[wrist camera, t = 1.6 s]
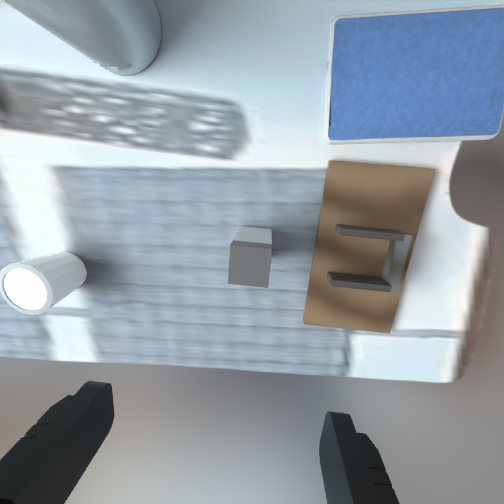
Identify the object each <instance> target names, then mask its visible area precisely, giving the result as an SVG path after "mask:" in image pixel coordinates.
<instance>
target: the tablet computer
mask: <svg viewBox="0 0 504 504" xmlns="http://www.w3.org/2000/svg"><path fill="white" fill-rule="evenodd" d="M503 115H504V5H495V6H480V7H466V8H449V9H434V10H420V11H405V12H385V13H372V14H360V15H346V16H338V17H336V18H335V19H334V20H333V21H332V22H331V25H330V29H329V48H328V68H327V84H326V103H325V120H324V135H323V136H324V141H325V142H326V143H327V144H332V145H334V144H361V143H396V142H429V141H462V140H488V139H491V138H494V137H495V136H496V135H497V134H498V133H499V132H500V129H501V125H502V119H503Z"/></svg>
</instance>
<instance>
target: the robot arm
mask: <svg viewBox="0 0 504 504" xmlns="http://www.w3.org/2000/svg"><path fill="white" fill-rule="evenodd" d="M2 1H4V2H5V3H7V4H8V5H10V6H11V7H13V8H14V9H16V10H17V11H19V12H20V13H22V14H23V15H25V16H26V17H28V18H29V19H31V20H32V21H34V22H35V23H37V24H38V25H40V26H41V27H43V28H44V29H46V30H47V31H49V32H51V33H52V34H54V35H55V36H57V37H58V38H60V39H61V40H63V41H64V42H66V43H67V44H69V45H70V46H72V47H73V48H75V49H76V50H78V51H79V52H81V53H82V54H84V55H85V56H87V57H88V58H90V59H91V60H93V62H95V63H96V64H98V65H100V66H102V67H103V68H105V69H106V70H108V71H110V72H113V73H115V74H120V75H132V74H136V73H139V72H140V71H142V70H144V69H145V68H146V67H147V66H148V65H149V64H150V63H151V62H152V61H153V59H154V58H155V56H156V54H157V51H158V49H159V46H160V40H161V21H160V16H159V12H158V10H157V7H156V4H155V2H154V1H153V0H2ZM113 419H114V406H113V394H112V386H111V384H110V383H103V382H95V381H88V382H86V383H85V384H84V385H83V386H82V387H81V388H80V389H79V391H78V392H77V393H76V394H75V395H74V396H71V395H68V396H66V397H65V398H63V399H62V400H60V401H59V402H57V403H56V404H54V405H53V406H51V407H50V408H49V410H48V411H47V412H46V413H45V414H44V415H43V416H42V417H41V418H40V419H39V420H38V421H37V423H36V425H33V426H32V427H31V428H30V429H29V431H28V432H27V433H26V434H25V436H24V437H23V438H21V439H20V440H19V441H18V442H17V443H16V444H15V445H14V447H12V449H10V451H9V452H8V453H7V454H6V455H5V456H4V457H3V458H2V459H1V460H0V504H64V503H65V501H66V500H67V498H68V497H69V495H70V494H71V492H72V491H73V489H74V487H75V486H76V484H77V483H78V481H79V479H80V478H81V476H82V475H83V473H84V471H85V470H86V468H87V467H88V465H89V464H90V462H91V460H92V459H93V457H94V456H95V454H96V452H97V451H98V449H99V448H100V446H101V444H102V443H103V441H104V440H105V438H106V436H107V435H108V433H109V431H110V429H111V427H112V424H113ZM319 447H320V448H319V455H320V464H321V470H322V476H323V481H324V487H325V493H326V498H327V504H399V501H398V499H397V497H396V494H395V491H394V489H392V484H391V481H390V479H389V476H388V474H387V473H386V470H385V466H384V464H383V461H382V459H381V456H380V454H379V451H378V449H377V448H376V447H375V445H374V444H373V443H372V441H371V440H370V439H369V437H368V436H367V435H366V434H363V433H356V430H355V427H354V424H353V422H352V419H351V416H350V415H349V414H345V413H337V412H329V411H328V412H327V413H326V416H325V421H324V425H323V430H322V434H321V439H320V446H319Z"/></svg>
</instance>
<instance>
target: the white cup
mask: <svg viewBox="0 0 504 504" xmlns="http://www.w3.org/2000/svg"><path fill="white" fill-rule="evenodd" d="M86 276H87V271H86V268H85V265H84V263H83V262H82V261H81V259H80V258H78V257H77V256H76V255H74V254H72V253H69V252H59V253H54V254H50V255H46V256H42V257H38V258H33V259H29V260H25V261H21V262H16V263H12V264H9V265H8V266H6V267H5V268H3V269H2V271H1V273H0V292H1V294H2V296H3V298H4V299H5V300H6V301H7V302H8V304H9V305H10V306H12V307H13V308H15V309H16V310H18V311H19V312H22V313H26V314H29V315H34V314H41V313H43V312H44V311H46V310H48V309H49V308H51V307H52V306H53V305H55V304H56V303H57V302H59V301H60V300H62V299H63V298H64V297H66V296H67V295H68V294H70V293H71V292H72V291H74V290H75V289H77V288H78V287H79V286H81V285H82V284H83V283H84V281H85V280H86Z"/></svg>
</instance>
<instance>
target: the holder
mask: <svg viewBox="0 0 504 504" xmlns="http://www.w3.org/2000/svg"><path fill="white" fill-rule="evenodd" d="M434 170H435V169H426V168H414V167H402V166H390V165H378V164H366V163H355V162H343V161H331V160H330V161H329V162H328V168H327V174H326V180H325V186H324V193H323V199H322V205H321V211H320V218H319V224H318V230H317V236H316V242H315V249H314V255H313V261H312V267H311V274H310V280H309V286H308V292H307V298H306V305H305V311H304V317H303V322H304V324H309V325H318V326H327V327H336V328H345V329H354V330H363V331H372V332H381V333H390V330H391V326H392V323H393V319H394V316H395V312H396V308H397V305H398V301H399V297H400V294H401V290H402V287H403V283H404V279H405V276H406V272H407V268H408V265H409V261H410V257H411V254H412V250H413V247H414V243H415V239H416V236H417V232H418V228H419V225H420V221H421V218H422V214H423V210H424V207H425V203H426V199H427V196H428V192H429V189H430V185H431V181H432V178H433V174H434Z"/></svg>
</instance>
